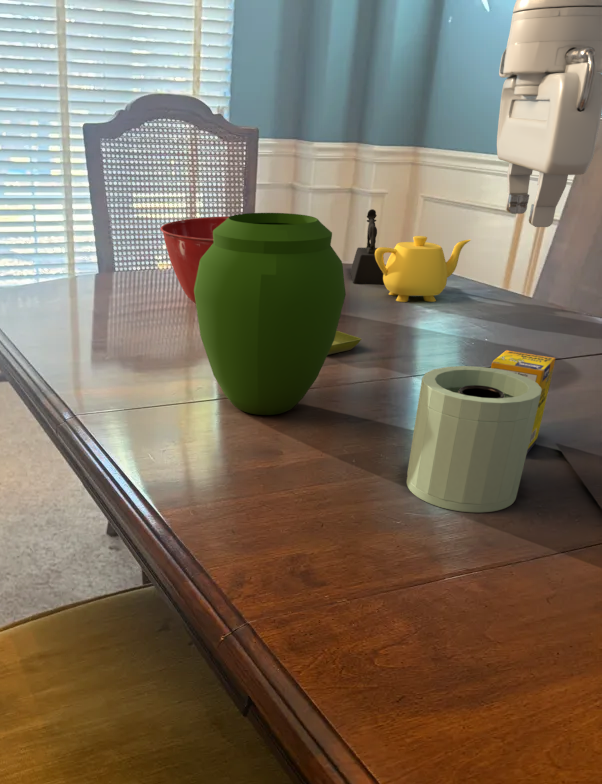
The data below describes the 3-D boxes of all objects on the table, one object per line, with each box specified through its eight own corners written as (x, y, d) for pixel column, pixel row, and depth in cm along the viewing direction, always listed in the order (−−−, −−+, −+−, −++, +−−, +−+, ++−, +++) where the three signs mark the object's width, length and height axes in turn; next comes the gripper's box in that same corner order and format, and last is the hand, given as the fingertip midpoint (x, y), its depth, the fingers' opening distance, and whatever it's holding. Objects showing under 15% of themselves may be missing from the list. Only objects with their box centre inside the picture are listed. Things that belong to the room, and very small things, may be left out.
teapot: (471, 304, 161) (482, 241, 155) (377, 304, 161) (384, 241, 154) (450, 290, 173) (460, 231, 167) (362, 290, 172) (369, 231, 166)
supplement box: (536, 443, 96) (557, 356, 91) (524, 459, 92) (545, 369, 86) (488, 432, 99) (505, 348, 94) (474, 447, 95) (491, 360, 89)
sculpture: (382, 273, 189) (390, 207, 182) (385, 284, 178) (394, 214, 170) (350, 272, 190) (356, 206, 183) (351, 283, 179) (358, 213, 171)
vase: (362, 407, 107) (384, 219, 95) (270, 444, 95) (282, 235, 83) (257, 375, 119) (265, 205, 107) (164, 405, 107) (161, 217, 95)
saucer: (323, 359, 127) (324, 346, 126) (289, 346, 133) (290, 334, 132) (361, 351, 131) (363, 338, 130) (327, 339, 137) (328, 327, 136)
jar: (503, 469, 89) (526, 368, 83) (527, 516, 79) (555, 405, 73) (401, 463, 90) (416, 363, 85) (412, 509, 81) (430, 399, 75)
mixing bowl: (249, 331, 142) (253, 242, 134) (133, 308, 157) (130, 227, 149) (324, 303, 161) (331, 224, 154) (214, 285, 176) (216, 212, 168)
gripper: (640, 43, 59) (595, 235, 66) (562, 56, 77) (533, 206, 83) (554, 45, 60) (518, 235, 66) (497, 57, 77) (473, 206, 84)
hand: (526, 219), depth 75 cm, fingers open, 8 cm apart
